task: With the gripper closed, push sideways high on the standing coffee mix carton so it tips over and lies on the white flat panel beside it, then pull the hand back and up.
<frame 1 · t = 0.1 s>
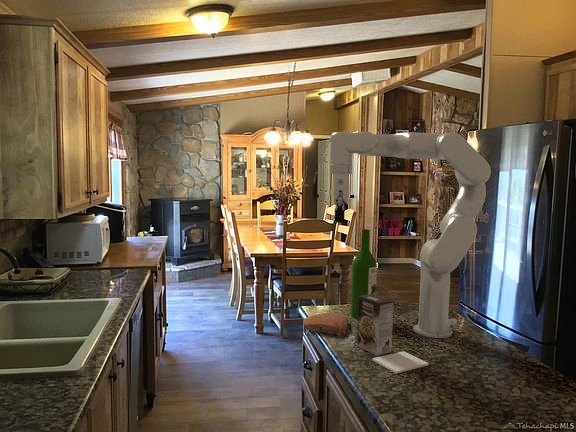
hand: (339, 220, 163), 37 cm above the counter, tool pointing down, fingers open, 9 cm apart
ceramic shard: (325, 329, 168), on the counter
white flat panel: (400, 362, 138), on the counter
coffee box: (373, 350, 148), on the counter
wine bottle: (362, 316, 181), on the counter
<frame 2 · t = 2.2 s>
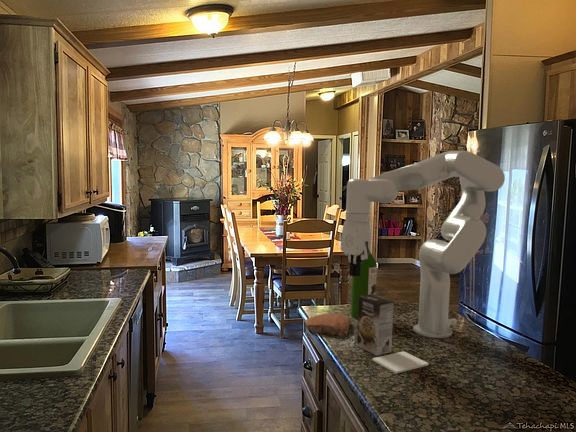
hand: (354, 275, 155), 21 cm above the counter, tool pointing down, fingers closed
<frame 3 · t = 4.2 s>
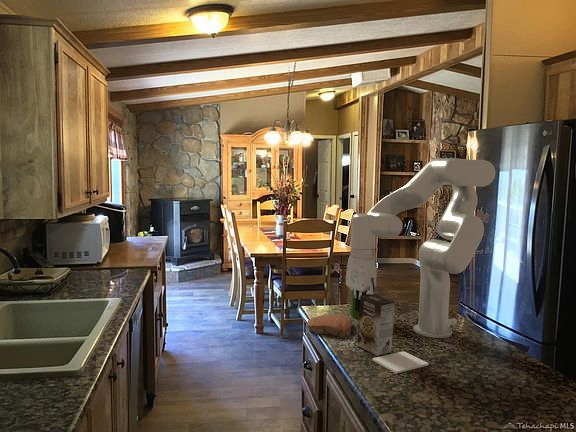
hand: (360, 310, 153), 10 cm above the counter, tool pointing down, fingers closed
coffee box: (373, 349, 148), on the counter, touching gripper
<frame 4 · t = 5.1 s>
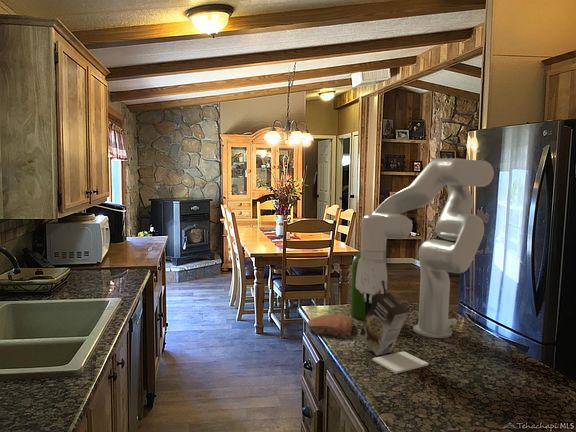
hand: (370, 314, 149), 10 cm above the counter, tool pointing down, fingers closed
coffee box: (374, 344, 148), point 2 cm above the counter, touching gripper
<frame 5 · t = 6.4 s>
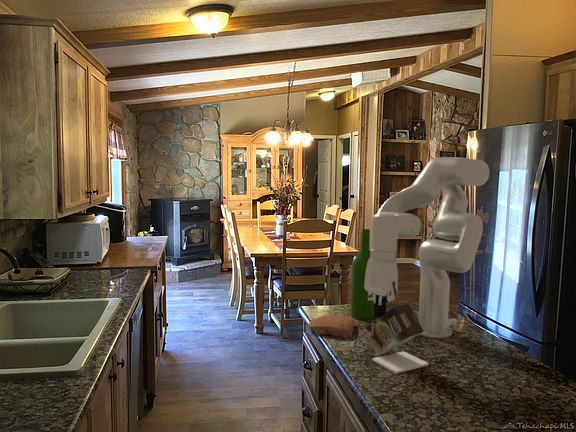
hand: (379, 316, 144), 11 cm above the counter, tool pointing down, fingers closed
coffee box: (377, 340, 147), point 3 cm above the counter, touching gripper
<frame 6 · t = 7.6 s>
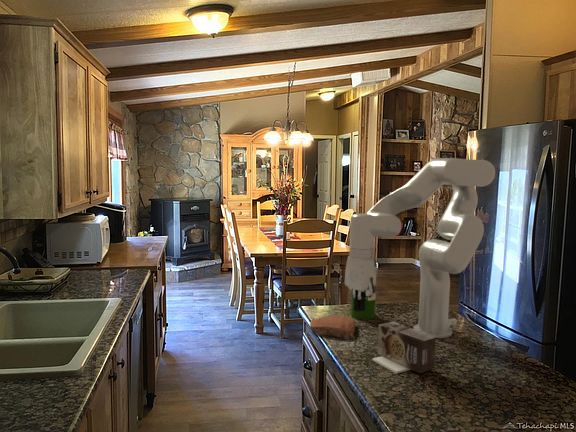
hand: (359, 310, 154), 10 cm above the counter, tool pointing down, fingers closed
coffee box: (384, 337, 144), point 5 cm above the counter, touching white flat panel
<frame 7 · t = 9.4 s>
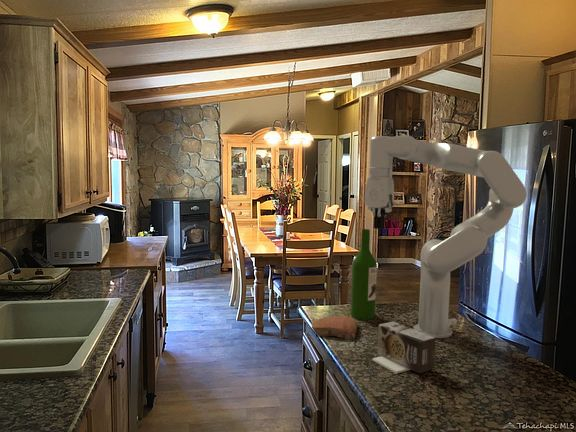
hand: (378, 228, 164), 35 cm above the counter, tool pointing down, fingers closed
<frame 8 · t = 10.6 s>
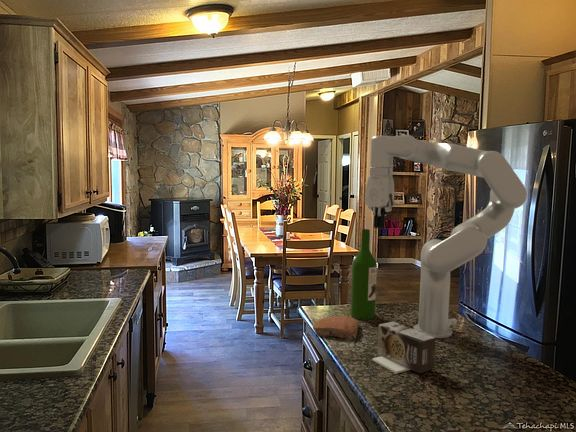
hand: (378, 227, 164), 35 cm above the counter, tool pointing down, fingers closed
at the end: coffee box tilted 89°; coffee box touching white flat panel; the gripper is holding nothing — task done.
